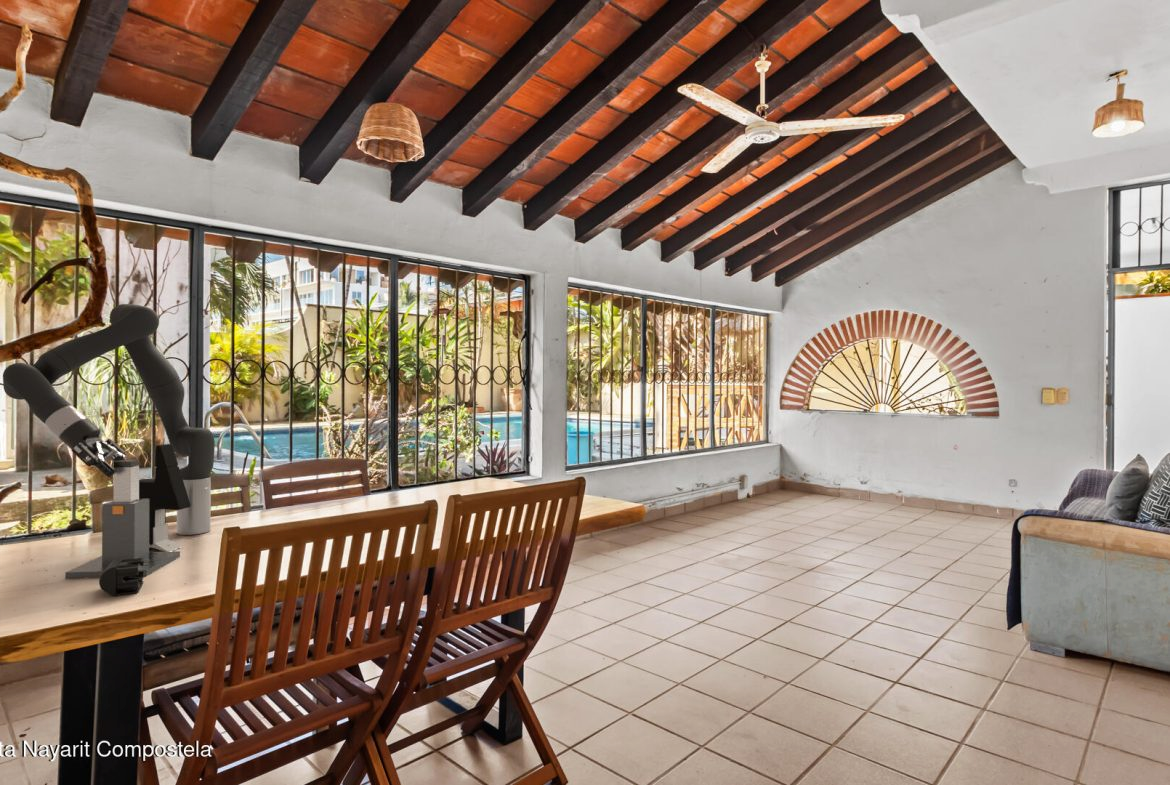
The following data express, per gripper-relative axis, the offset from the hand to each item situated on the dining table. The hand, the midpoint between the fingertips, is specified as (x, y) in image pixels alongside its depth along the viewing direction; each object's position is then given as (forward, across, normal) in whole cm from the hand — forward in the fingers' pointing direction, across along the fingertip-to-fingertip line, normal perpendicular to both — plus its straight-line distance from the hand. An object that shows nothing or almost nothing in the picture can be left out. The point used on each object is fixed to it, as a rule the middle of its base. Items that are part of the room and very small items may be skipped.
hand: (122, 472), depth 167 cm
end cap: (+25, -20, +10) cm, 33 cm away
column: (+16, 0, +15) cm, 22 cm away
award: (+18, +18, +17) cm, 31 cm away
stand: (+18, 0, +17) cm, 24 cm away
